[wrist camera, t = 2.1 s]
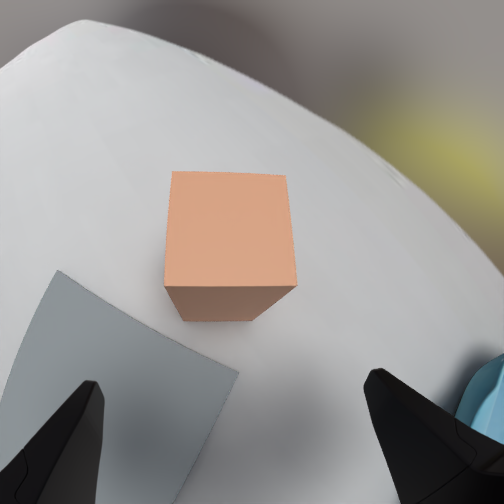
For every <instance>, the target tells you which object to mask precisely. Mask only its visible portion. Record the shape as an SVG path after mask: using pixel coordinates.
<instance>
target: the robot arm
mask: <svg viewBox="0 0 504 504" xmlns="http://www.w3.org/2000/svg"><path fill="white" fill-rule="evenodd" d="M364 394H365V397H366V401H367V405H368V409H369V412H370V416H371V420H372V424H373V427H374V430H375V432H376V435H377V438H378V440H379V443H380V446H381V448H382V451H383V454H384V457H385V459H386V462H387V465H388V468H389V471H390V473H391V476H392V479H393V482H394V485H395V488H396V491H397V494H398V497H399V500H400V503H401V504H504V444H502V443H499V442H497V441H495V440H494V439H492V438H490V437H488V436H486V435H484V434H482V433H480V432H478V431H476V430H474V429H473V428H471V427H469V426H468V425H466V424H464V423H463V422H461V421H460V420H458V419H457V418H454V416H452V415H451V414H449V413H448V412H446V411H445V410H443V409H442V408H440V407H439V406H437V405H436V404H434V403H433V402H431V401H430V400H428V399H427V398H425V397H424V396H423V395H421V394H420V393H418V392H417V391H415V390H414V389H412V388H411V387H409V386H408V385H406V384H405V383H404V382H402V381H401V380H399V379H398V378H396V377H395V376H393V375H392V374H390V373H389V372H388V371H386V370H385V369H383V368H378V369H373V370H371V371H370V373H369V375H368V377H367V379H366V381H365V383H364ZM104 407H105V399H104V395H103V393H102V391H101V388H100V386H99V384H98V382H97V381H93V380H85V381H83V382H82V383H81V384H80V386H79V387H78V388H77V389H76V390H75V391H74V392H73V393H72V394H71V395H70V396H69V397H68V398H67V399H66V401H65V402H64V403H63V404H62V405H61V406H60V407H59V408H58V409H57V410H56V411H55V413H54V414H53V415H52V416H51V417H50V418H49V419H48V420H47V421H46V422H45V424H44V425H43V426H42V427H41V428H40V429H39V430H38V431H37V432H36V434H35V435H34V436H33V437H32V438H31V439H30V440H29V441H28V443H27V444H26V445H25V446H24V449H21V450H20V451H19V453H18V454H17V455H16V456H15V457H14V458H13V459H12V460H11V461H10V462H9V464H8V465H7V466H5V467H4V468H3V469H2V470H1V471H0V504H95V500H96V489H97V480H98V472H99V464H100V457H101V450H102V442H103V422H104Z"/></svg>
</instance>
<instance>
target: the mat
mask: <svg viewBox="0 0 504 504" xmlns="http://www.w3.org/2000/svg"><path fill="white" fill-rule="evenodd" d="M238 374H239V372H237V371H235V370H232V369H230V368H228V367H226V366H224V365H221V364H219V363H217V362H215V361H213V360H211V359H209V358H207V357H205V356H202V355H200V354H198V353H196V352H194V351H192V350H190V349H188V348H186V347H184V346H182V345H180V344H179V343H177V342H175V341H173V340H171V339H169V338H167V337H165V336H163V335H162V334H160V333H158V332H156V331H154V330H152V329H151V328H149V327H147V326H145V325H144V324H142V323H140V322H138V321H137V320H135V319H133V318H131V317H130V316H128V315H126V314H125V313H123V312H121V311H120V310H118V309H116V308H115V307H113V306H111V305H110V304H108V303H107V302H105V301H103V300H102V299H100V298H99V297H97V296H96V295H94V294H92V293H91V292H89V291H88V290H86V289H85V288H83V287H82V286H80V285H79V284H77V283H76V282H74V281H73V280H71V279H70V278H69V277H67V276H66V275H64V274H63V273H61V272H60V271H59V270H57V271H56V273H55V275H54V277H53V278H52V280H51V282H50V284H49V286H48V288H47V290H46V292H45V294H44V296H43V298H42V300H41V302H40V304H39V306H38V308H37V310H36V312H35V314H34V316H33V318H32V320H31V323H30V325H29V327H28V329H27V332H26V334H25V336H24V339H23V341H22V343H21V346H20V348H19V351H18V353H17V356H16V358H15V361H14V364H13V366H12V369H11V372H10V375H9V377H8V380H7V383H6V386H5V389H4V393H3V396H2V399H1V402H0V471H1V470H2V469H3V468H4V467H5V466H7V465H8V464H9V462H10V461H11V460H12V459H13V458H14V457H15V456H16V455H17V454H18V453H19V451H20V450H21V449H24V446H25V445H26V444H27V443H28V441H29V440H30V439H31V438H32V437H33V436H34V435H35V434H36V432H37V431H38V430H39V429H40V428H41V427H42V426H43V425H44V424H45V422H46V421H47V420H48V419H49V418H50V417H51V416H52V415H53V414H54V413H55V411H56V410H57V409H58V408H59V407H60V406H61V405H62V404H63V403H64V402H65V401H66V399H67V398H68V397H69V396H70V395H71V394H72V393H73V392H74V391H75V390H76V389H77V388H78V387H79V386H80V384H81V383H82V382H83V381H85V380H93V381H97V382H98V384H99V386H100V388H101V391H102V393H103V395H104V399H105V407H104V422H103V442H102V450H101V457H100V464H99V472H98V480H97V489H96V500H95V504H173V502H174V500H175V499H176V497H177V495H178V493H179V491H180V489H181V487H182V486H183V484H184V482H185V480H186V478H187V476H188V474H189V472H190V470H191V469H192V467H193V465H194V463H195V461H196V459H197V457H198V455H199V453H200V451H201V449H202V447H203V445H204V443H205V441H206V439H207V437H208V435H209V433H210V431H211V429H212V427H213V425H214V423H215V421H216V419H217V417H218V415H219V413H220V411H221V409H222V407H223V405H224V403H225V401H226V399H227V397H228V395H229V393H230V391H231V389H232V386H233V384H234V382H235V380H236V378H237V376H238Z"/></svg>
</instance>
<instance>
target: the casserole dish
mask: <svg viewBox="0 0 504 504" xmlns="http://www.w3.org/2000/svg"><path fill="white" fill-rule="evenodd" d="M454 418H457V419H458V420H460V421H461V422H463V423H464V424H466V425H468V426H469V427H471V428H473V429H474V430H476V431H478V432H480V433H482V434H484V435H486V436H488V437H490V438H492V439H494V440H495V441H497V442H499V443H502V444H504V354H502V355H500V356H498V357H496V358H495V359H493V360H491V361H490V362H488V363H487V364H485V365H484V366H483V367H482V368H480V369H479V370H478V371H477V372H476V373H475V375H474V376H473V377H472V379H471V380H470V382H469V384H468V386H467V387H466V390H465V392H464V394H463V396H462V399H461V401H460V404H459V406H458V409H457V411H456V414H455V417H454Z"/></svg>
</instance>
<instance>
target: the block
mask: <svg viewBox="0 0 504 504" xmlns="http://www.w3.org/2000/svg"><path fill="white" fill-rule="evenodd" d="M296 286H297V276H296V265H295V255H294V245H293V235H292V226H291V217H290V208H289V199H288V191H287V183H286V176H285V175H270V174H252V173H230V172H181V171H172V179H171V188H170V198H169V210H168V222H167V236H166V253H165V275H164V287H165V288H166V290H167V292H168V294H169V296H170V298H171V299H172V301H173V303H174V305H175V307H176V308H177V310H178V312H179V314H180V316H181V317H182V319H183V321H253V320H254V319H255V318H256V317H258V316H259V315H260V314H262V313H263V312H264V311H266V310H267V309H268V308H269V307H271V306H272V305H273V304H275V303H276V302H277V301H278V300H280V299H281V298H282V297H284V296H285V295H286V294H287V293H289V292H290V291H291V290H292V289H294V288H295V287H296Z"/></svg>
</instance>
